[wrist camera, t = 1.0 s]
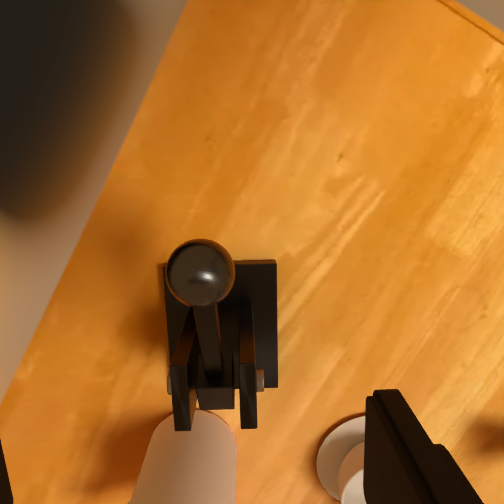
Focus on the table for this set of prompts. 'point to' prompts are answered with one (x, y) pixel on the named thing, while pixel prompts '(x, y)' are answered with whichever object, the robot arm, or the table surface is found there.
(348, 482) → the teacup
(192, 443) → the mug
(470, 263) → the table surface
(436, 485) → the robot arm
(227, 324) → the black lever base
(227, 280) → the ball knob lever
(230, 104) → the table surface
